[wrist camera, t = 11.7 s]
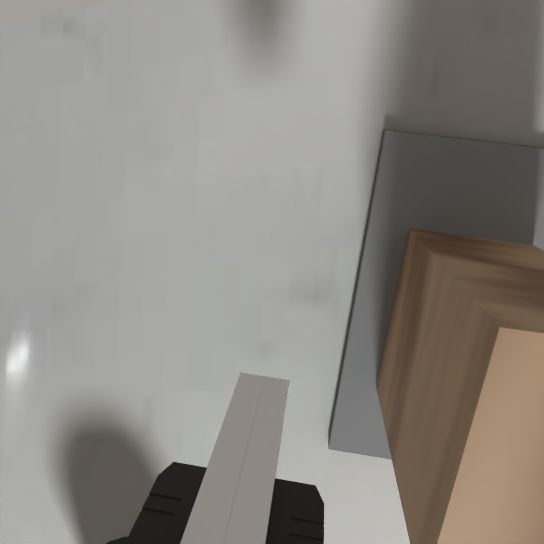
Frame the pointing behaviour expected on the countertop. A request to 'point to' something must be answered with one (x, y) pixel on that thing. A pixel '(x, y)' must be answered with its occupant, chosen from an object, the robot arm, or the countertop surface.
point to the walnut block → (467, 390)
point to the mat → (435, 218)
